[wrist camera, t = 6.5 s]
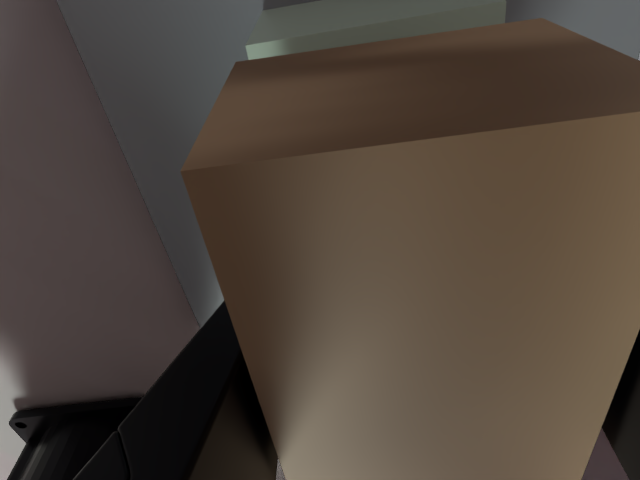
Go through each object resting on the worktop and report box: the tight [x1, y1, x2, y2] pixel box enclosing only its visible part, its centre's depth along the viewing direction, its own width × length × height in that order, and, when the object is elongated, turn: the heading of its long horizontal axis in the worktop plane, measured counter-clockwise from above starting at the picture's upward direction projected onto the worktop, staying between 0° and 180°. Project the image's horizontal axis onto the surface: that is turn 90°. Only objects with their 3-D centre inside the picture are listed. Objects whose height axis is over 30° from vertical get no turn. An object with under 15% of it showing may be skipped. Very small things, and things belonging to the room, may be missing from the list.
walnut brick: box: [180, 18, 640, 480], centre depth 7 cm, size 4×7×4 cm, turn 8°
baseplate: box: [56, 0, 640, 329], centre depth 12 cm, size 14×14×4 cm
